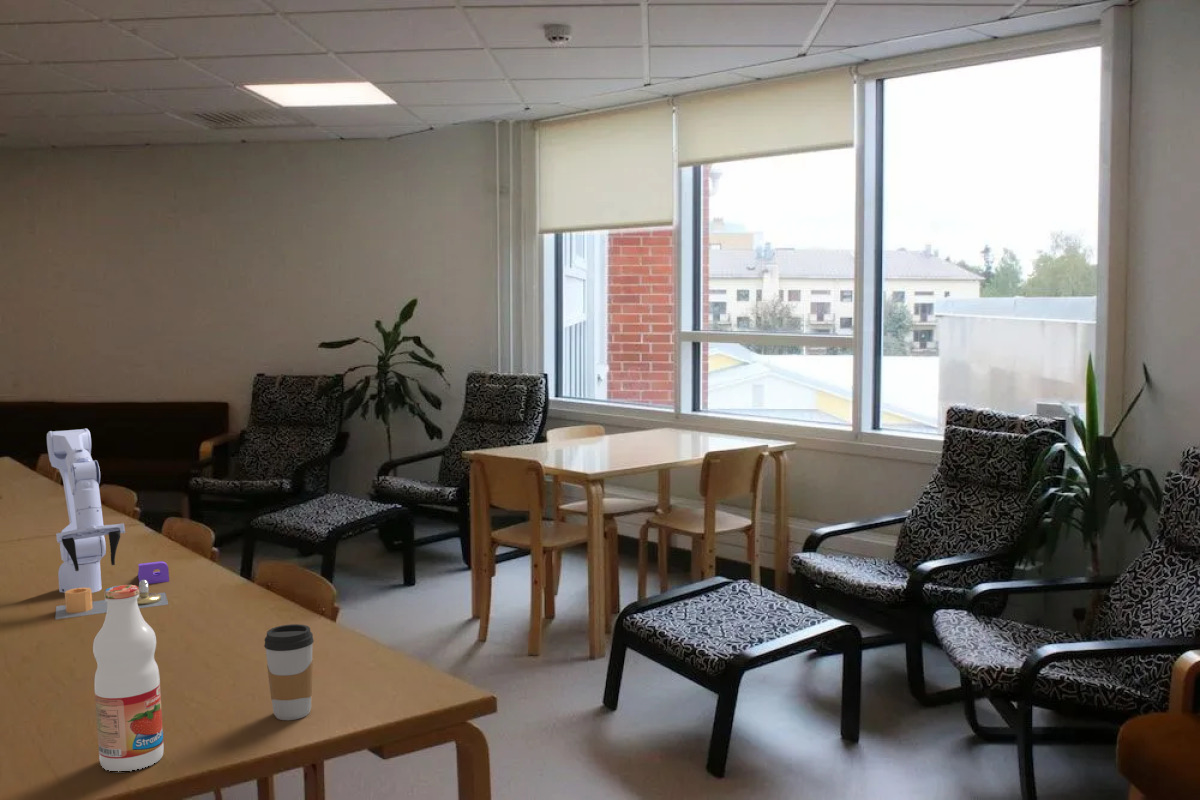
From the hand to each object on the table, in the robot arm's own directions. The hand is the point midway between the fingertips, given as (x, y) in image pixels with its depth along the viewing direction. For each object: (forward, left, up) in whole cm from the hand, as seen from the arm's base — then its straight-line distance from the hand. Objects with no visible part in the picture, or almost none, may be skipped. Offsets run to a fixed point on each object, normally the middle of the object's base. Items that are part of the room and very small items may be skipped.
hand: (95, 567), depth 250 cm
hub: (+6, +8, -10) cm, 14 cm away
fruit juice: (+68, -63, -12) cm, 94 cm away
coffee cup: (+81, -39, -12) cm, 91 cm away
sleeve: (-4, -2, -10) cm, 11 cm away
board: (+1, +3, -11) cm, 12 cm away
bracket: (-8, +27, -12) cm, 30 cm away
